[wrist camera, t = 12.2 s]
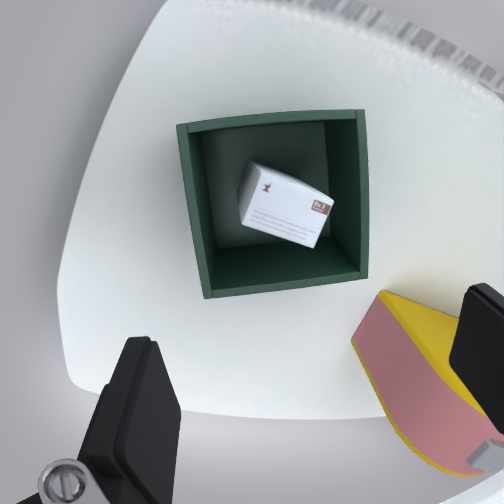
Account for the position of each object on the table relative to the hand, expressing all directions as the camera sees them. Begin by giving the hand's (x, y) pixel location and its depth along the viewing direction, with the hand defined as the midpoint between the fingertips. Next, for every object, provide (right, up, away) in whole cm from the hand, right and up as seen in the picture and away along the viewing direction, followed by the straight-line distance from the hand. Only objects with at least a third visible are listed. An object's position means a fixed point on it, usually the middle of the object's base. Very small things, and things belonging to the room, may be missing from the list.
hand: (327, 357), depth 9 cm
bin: (0, +10, +27) cm, 29 cm away
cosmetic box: (0, +10, +26) cm, 28 cm away
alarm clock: (+23, -9, +36) cm, 44 cm away
